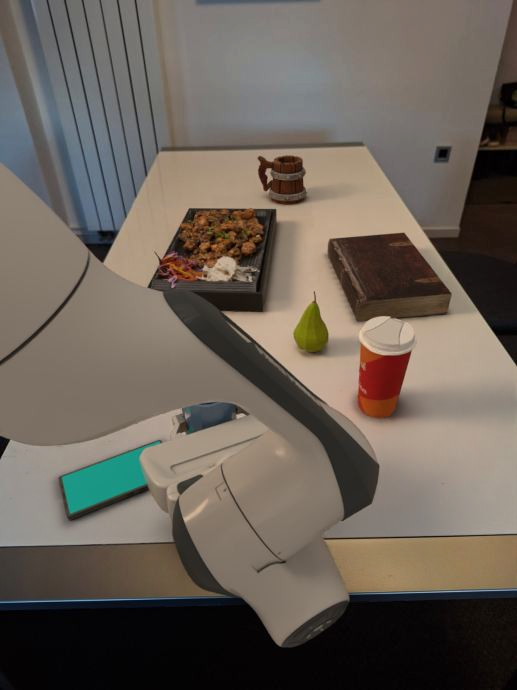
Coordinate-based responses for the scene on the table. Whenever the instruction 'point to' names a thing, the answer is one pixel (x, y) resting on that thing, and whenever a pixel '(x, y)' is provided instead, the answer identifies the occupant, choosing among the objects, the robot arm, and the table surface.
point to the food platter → (221, 257)
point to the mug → (284, 179)
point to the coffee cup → (383, 364)
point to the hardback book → (387, 277)
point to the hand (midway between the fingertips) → (207, 409)
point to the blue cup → (208, 415)
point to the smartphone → (103, 482)
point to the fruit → (311, 329)
